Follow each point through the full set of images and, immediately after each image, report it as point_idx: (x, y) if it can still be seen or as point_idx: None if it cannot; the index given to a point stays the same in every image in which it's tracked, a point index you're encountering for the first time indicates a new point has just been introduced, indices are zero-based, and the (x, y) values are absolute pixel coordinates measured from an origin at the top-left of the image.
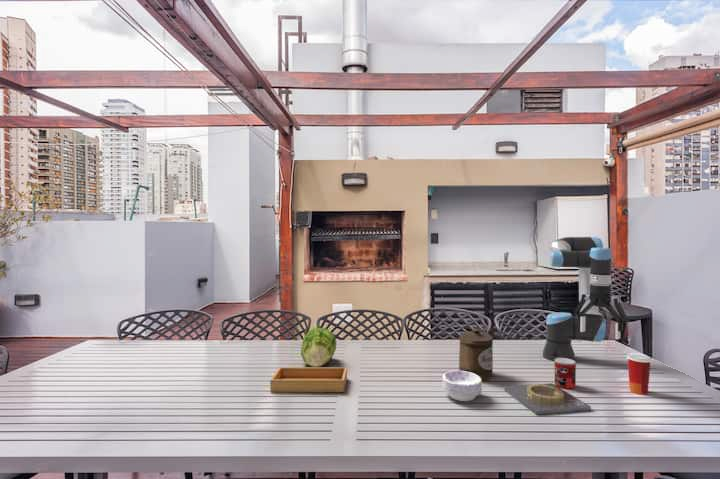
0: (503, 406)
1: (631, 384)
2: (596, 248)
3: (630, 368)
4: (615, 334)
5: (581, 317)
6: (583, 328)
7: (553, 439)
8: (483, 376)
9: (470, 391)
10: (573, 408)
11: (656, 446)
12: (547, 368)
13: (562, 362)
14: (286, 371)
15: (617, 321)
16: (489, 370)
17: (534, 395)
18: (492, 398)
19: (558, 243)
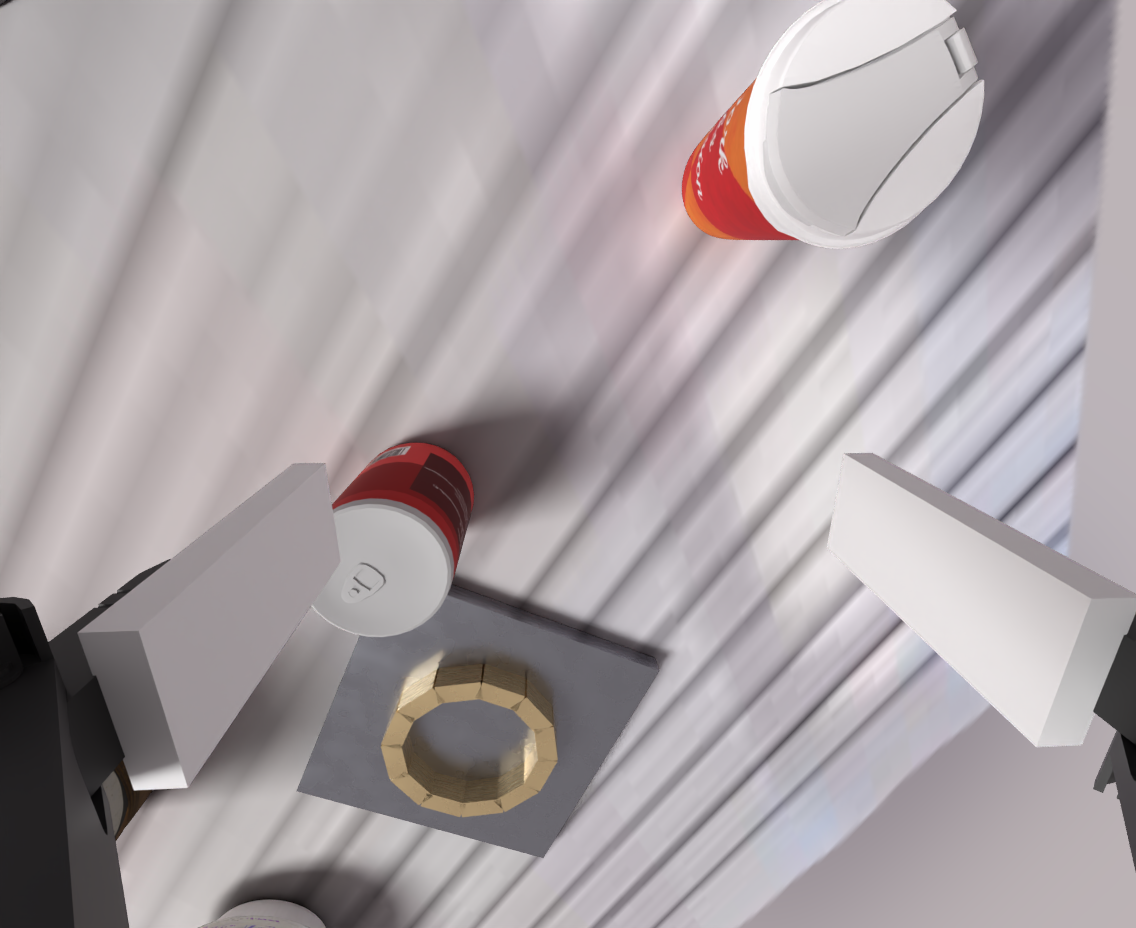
0: (426, 876)
1: (717, 232)
2: None
3: (756, 227)
4: (870, 587)
5: (175, 777)
6: (312, 548)
7: (668, 910)
8: (146, 794)
9: None
10: (617, 735)
11: (908, 724)
12: (128, 277)
13: (381, 605)
14: None
15: (1129, 780)
16: (123, 787)
17: (471, 812)
18: (349, 862)
19: None
